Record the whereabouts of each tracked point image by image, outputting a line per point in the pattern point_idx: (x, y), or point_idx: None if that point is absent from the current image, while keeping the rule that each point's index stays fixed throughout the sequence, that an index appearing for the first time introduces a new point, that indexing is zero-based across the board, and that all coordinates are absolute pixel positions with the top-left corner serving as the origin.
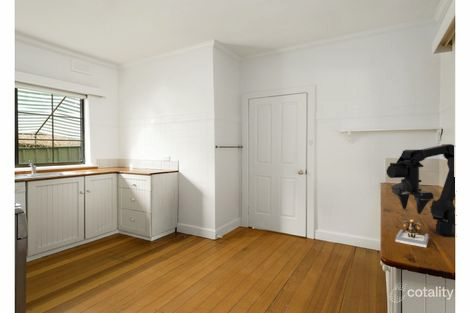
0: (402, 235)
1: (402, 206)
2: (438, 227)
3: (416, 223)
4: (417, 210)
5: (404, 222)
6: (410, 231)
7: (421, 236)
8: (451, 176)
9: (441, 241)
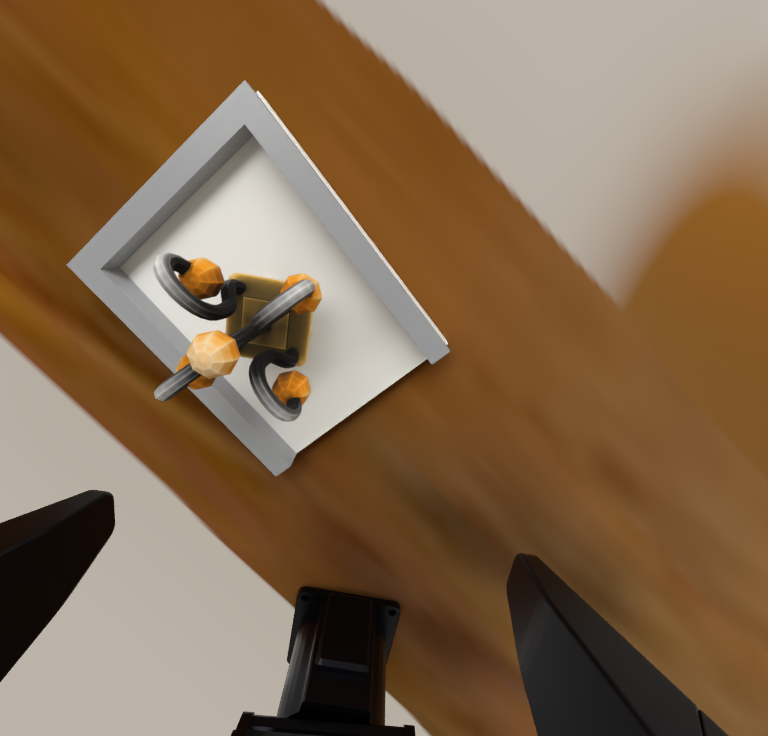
0: (352, 275)
1: (559, 587)
2: (337, 639)
3: (177, 374)
4: (35, 524)
5: (292, 287)
6: (231, 280)
7: None
8: None
9: (223, 492)
